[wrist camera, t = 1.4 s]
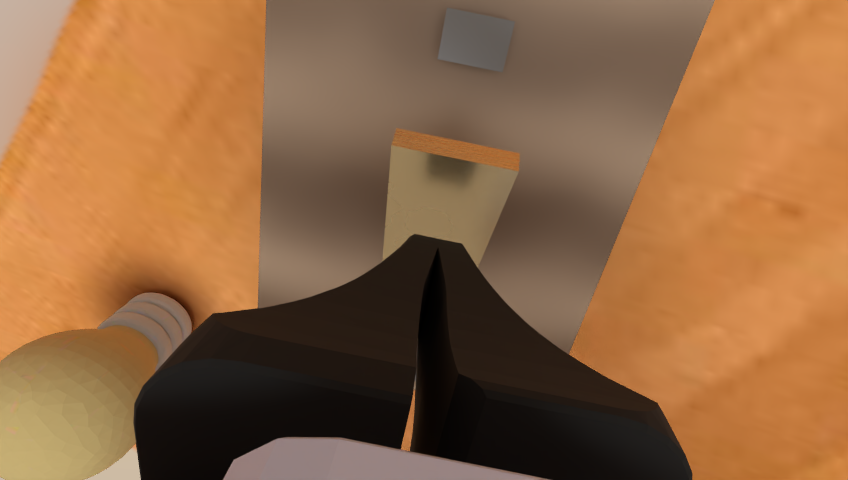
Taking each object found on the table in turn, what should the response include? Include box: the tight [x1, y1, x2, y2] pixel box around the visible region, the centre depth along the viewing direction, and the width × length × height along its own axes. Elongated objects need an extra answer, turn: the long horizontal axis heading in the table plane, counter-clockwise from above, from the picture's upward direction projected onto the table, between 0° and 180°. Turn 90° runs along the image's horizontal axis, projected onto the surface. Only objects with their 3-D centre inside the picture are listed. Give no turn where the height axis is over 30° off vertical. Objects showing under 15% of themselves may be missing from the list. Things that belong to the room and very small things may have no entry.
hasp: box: [382, 128, 520, 267], centre depth 15 cm, size 11×3×1 cm
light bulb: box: [0, 292, 192, 480], centre depth 21 cm, size 6×6×10 cm
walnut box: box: [258, 0, 715, 390], centre depth 18 cm, size 18×14×6 cm
